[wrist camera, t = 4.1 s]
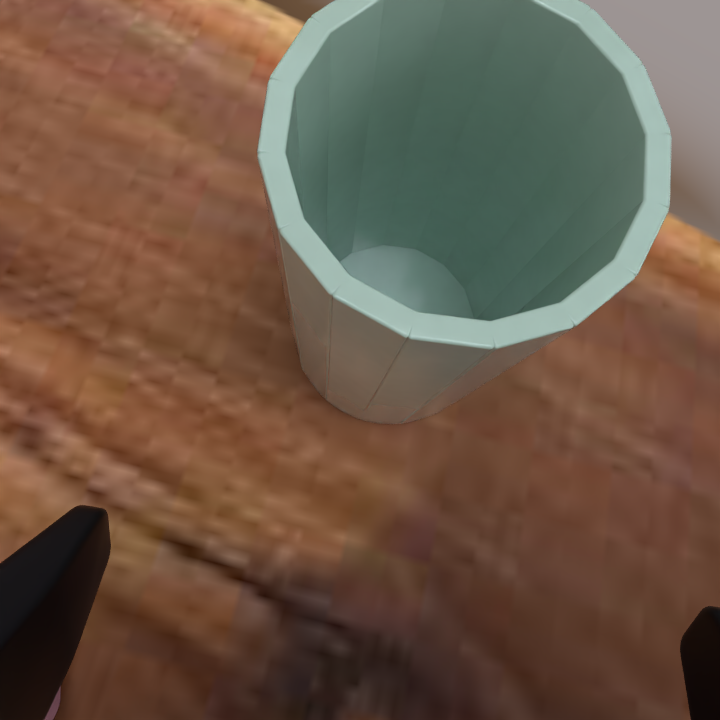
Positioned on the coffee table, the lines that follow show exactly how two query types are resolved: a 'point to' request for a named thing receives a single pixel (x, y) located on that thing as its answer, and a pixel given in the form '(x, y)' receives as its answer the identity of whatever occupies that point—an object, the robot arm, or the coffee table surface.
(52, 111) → the coffee table surface
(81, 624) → the robot arm
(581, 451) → the coffee table surface
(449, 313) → the cup
